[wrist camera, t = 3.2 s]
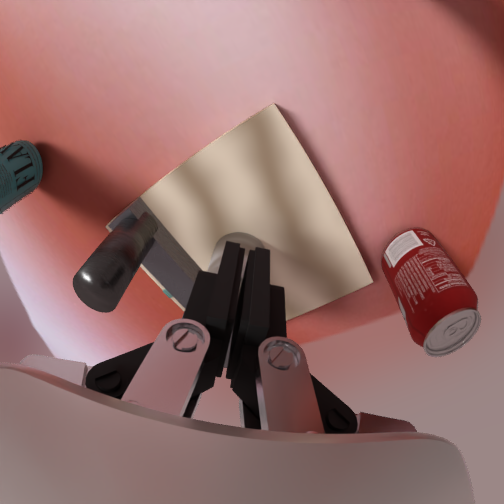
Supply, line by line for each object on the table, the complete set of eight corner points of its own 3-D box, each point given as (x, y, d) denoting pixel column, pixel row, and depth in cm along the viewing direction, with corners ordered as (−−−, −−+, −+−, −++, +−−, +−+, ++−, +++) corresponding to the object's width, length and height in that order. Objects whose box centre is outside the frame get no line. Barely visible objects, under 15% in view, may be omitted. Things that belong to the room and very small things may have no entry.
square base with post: (274, 102, 21) (275, 111, 14) (369, 273, 30) (391, 331, 23) (111, 220, 28) (69, 266, 21) (222, 336, 37) (212, 392, 29)
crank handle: (288, 319, 22) (290, 405, 16) (222, 344, 24) (209, 421, 18) (170, 171, 16) (109, 234, 10) (106, 224, 18) (46, 293, 12)
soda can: (370, 242, 28) (411, 331, 18) (425, 213, 25) (487, 289, 15) (388, 286, 30) (422, 371, 20) (438, 260, 28) (485, 337, 18)
